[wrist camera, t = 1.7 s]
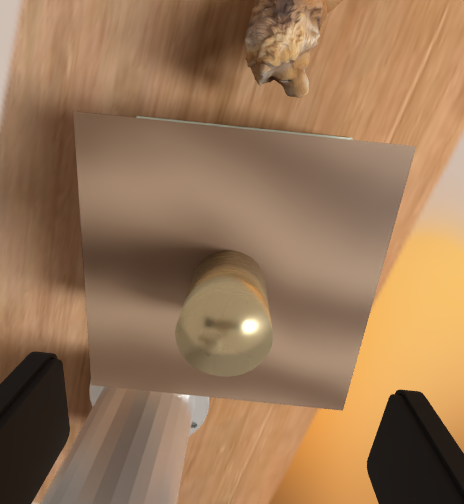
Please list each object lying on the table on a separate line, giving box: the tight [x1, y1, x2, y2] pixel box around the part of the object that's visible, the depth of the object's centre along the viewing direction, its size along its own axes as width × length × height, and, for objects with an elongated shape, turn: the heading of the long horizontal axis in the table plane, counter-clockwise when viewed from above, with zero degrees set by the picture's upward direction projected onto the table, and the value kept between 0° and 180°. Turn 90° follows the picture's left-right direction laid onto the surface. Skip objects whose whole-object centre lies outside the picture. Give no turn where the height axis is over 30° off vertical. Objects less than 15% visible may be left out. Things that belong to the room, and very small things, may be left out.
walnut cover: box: [73, 111, 416, 410], centre depth 21 cm, size 16×16×16 cm
